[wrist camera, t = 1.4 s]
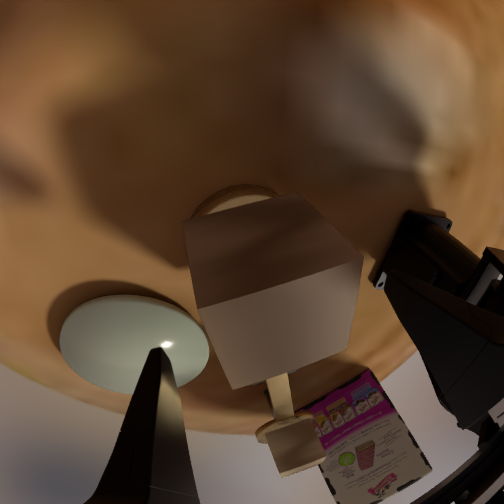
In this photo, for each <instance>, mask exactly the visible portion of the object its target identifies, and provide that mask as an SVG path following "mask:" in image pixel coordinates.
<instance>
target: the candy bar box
mask: <svg viewBox="0 0 504 504" xmlns="http://www.w3.org/2000/svg"><path fill="white" fill-rule="evenodd" d="M299 411H312V412H313V414H314V416H315V418H316V423H315V424H314V425H313V427H314V429H315V432H316V434H317V436H318V438H319V440H320V442H321V445H322V447H323V449H324V451H325V453H326V455H327V457H326V458H325V460H324V461H323V463H321V464H319V465H318V466H319V468H320V470H321V473H322V475H323V477H324V479H325V481H326V483H327V485H328V488H329V490H330V492H331V494H332V495H333V497H334V499H335V501H336V503H337V504H378V503H379V502H382V501H383V500H385V499H387V498H389V497H391V496H393V495H394V494H396V493H398V492H400V491H401V490H403V489H405V488H407V487H408V486H410V485H412V484H413V483H415V482H417V481H418V480H420V479H421V478H423V477H424V476H426V475H427V474H429V473H430V472H431V471H432V467H431V466H430V464H429V462H428V460H427V459H426V457H425V455H424V454H423V452H422V451H421V449H420V447H419V446H418V444H417V442H416V441H415V439H414V437H413V436H412V434H411V432H410V431H409V429H408V428H407V426H406V425H405V423H404V421H403V419H402V418H401V416H400V415H399V413H398V412H397V410H396V409H395V407H394V405H393V404H392V402H391V400H390V399H389V397H388V396H387V394H386V393H385V391H384V390H383V388H382V386H381V385H380V383H379V381H378V380H377V378H376V377H375V375H374V374H373V372H372V371H371V370H370V369H368V370H366V371H365V372H363V373H362V374H360V375H359V376H357V377H355V378H354V379H352V380H351V381H349V382H348V383H346V384H344V385H343V386H341V387H339V388H338V389H336V390H334V391H333V392H331V393H329V394H328V395H326V396H324V397H323V398H321V399H319V400H317V401H316V402H314V403H312V404H310V405H308V406H307V407H305V408H303V409H301V410H299ZM297 412H298V411H297Z"/></svg>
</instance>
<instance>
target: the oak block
mask: <svg viewBox="0 0 504 504" xmlns="http://www.w3.org/2000/svg"><path fill="white" fill-rule="evenodd" d="M265 437H266V439H267V442H268V445H269V447H270V450H271V453H272V455H273V458H274V461H275V463H276V466H277V468H278V471H279V474H280V476H281V478H283V477H286V476H289V475H292V474H295V473H298V472H300V471H303V470H306V469H308V468H311V467H314V466H316V465H319V464H321V463H323V461H324V460H325V458H326V457H327V455H326V453H325V451H324V449H323V447H322V445H321V442H320V440H319V438H318V436H317V434H316V432H315V429H314V427H313V425H312V423H311V421H310V419H309V418H308V419H305V420H303V421H300V422H297V423H295V424H292V425H289V426H286V427H283V428H280V429H277V430H274V431H271V432H268V433H265Z"/></svg>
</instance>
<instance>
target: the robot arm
mask: <svg viewBox="0 0 504 504" xmlns="http://www.w3.org/2000/svg"><path fill="white" fill-rule="evenodd" d="M451 226H452V221H451V220H449V219H448V218H445V217H440V216H436V215H431V214H427V213H422V212H417V211H412V210H409V211H407V212H406V213H405V215H404V217H403V219H402V221H401V224H400V226H399V228H398V231H397V233H396V235H395V238H394V240H393V242H392V244H391V246H390V249H389V251H388V253H387V255H386V257H385V259H384V261H383V263H382V266H381V268H380V270H379V272H378V274H377V276H376V278H375V280H374V282H373V286H374V287H375V288H376V289H377V290H380V289H384V291H385V294H386V296H387V297H388V299H389V301H390V303H391V305H392V307H393V309H394V311H395V313H396V315H397V316H398V318H399V320H400V322H401V323H402V325H403V327H404V328H405V330H406V331H407V333H408V334H409V336H410V338H411V339H412V341H413V342H414V344H415V346H416V347H417V349H418V351H419V352H420V355H421V357H422V360H423V362H424V364H425V367H426V369H427V372H428V374H429V377H430V379H431V382H432V385H433V387H434V390H435V393H436V395H437V397H438V400H439V402H440V404H441V405H442V406H443V407H444V408H445V409H446V410H447V411H449V412H450V413H451V414H452V415H454V416H455V417H456V418H457V421H458V423H457V426H458V427H459V428H462V430H464V429H468V430H470V431H472V432H474V433H476V434H477V435H479V441H478V447H479V450H478V451H477V452H476V453H475V454H474V455H473V456H472V457H471V458H470V459H468V460H467V461H466V462H465V463H464V464H463V465H461V466H460V467H459V468H458V469H457V470H456V471H454V472H453V473H452V474H451V475H449V476H448V477H447V478H446V479H444V480H443V481H442V482H440V483H439V484H438V485H436V486H435V487H434V488H432V489H431V490H430V491H428V492H427V493H425V494H424V495H422V496H421V497H419V498H418V499H416V500H415V501H414V502H412V503H410V504H451V503H452V502H453V501H454V502H455V504H504V491H503V490H504V250H500V249H496V248H491V247H487V246H486V248H485V250H484V252H483V256H482V258H481V259H480V258H479V257H478V256H477V255H475V254H474V253H473V252H472V251H471V250H470V249H468V248H467V247H466V246H465V245H463V244H462V243H461V242H460V241H459V240H457V239H456V238H455V237H454V236H452V235H451V234H450V233H449V230H450V228H451ZM500 273H501V274H502V275H503V278H502V279H501V280H498V279H497V278H498V276H499V275H500ZM120 431H121V432H119V435H118V438H117V441H116V444H115V447H114V449H113V452H112V455H111V457H110V459H109V461H108V464H107V466H106V468H105V470H104V473H103V475H102V477H101V480H100V482H99V484H98V486H97V488H96V490H95V492H94V493H93V495H92V496H91V497H90V498H89V499H88V500H87V501H86V502H85V503H84V504H200V501H199V498H198V493H197V489H196V484H195V480H194V475H193V470H192V466H191V461H190V455H189V450H188V444H187V439H186V433H185V427H184V421H183V414H182V407H181V401H180V397H179V393H178V389H177V385H176V381H175V377H174V373H173V368H172V364H171V361H170V359H169V357H168V356H167V354H166V353H165V351H164V350H163V348H162V347H157V348H152V349H151V350H150V351H149V354H148V356H147V359H146V361H145V364H144V366H143V369H142V372H141V374H140V377H139V379H138V382H137V385H136V387H135V390H134V393H133V395H132V398H131V401H130V404H129V406H128V409H127V412H126V415H125V418H124V421H123V424H122V427H121V429H120Z"/></svg>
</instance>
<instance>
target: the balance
mask: <svg viewBox="0 0 504 504" xmlns="http://www.w3.org/2000/svg"><path fill="white" fill-rule="evenodd" d="M277 196H278V195H277V194H276V193H274V192H273V191H271V190H269V189H267V188H264V187H261V186H256V185H237V186H231V187H228V188H225V189H223V190H220V191H218V192H216V193H215V194H213V195H211V196H210V197H209V198H207V199H206V200H205V201H204V202H203V203H202V204H201V205H200V206H199V207H198V208H197V209H196V211H195V212H194V214H193V215H192V217H191V219H193V218H196V217H200V216H203V215H207V214H211V213H214V212H218V211H222V210H226V209H229V208H233V207H237V206H241V205H245V204H249V203H253V202H257V201H261V200H265V199H269V198H273V197H277ZM296 371H297V369H296V370H293V371H290V372H287V373H285V374H282V375H279V376H276V377H273V378H270V379H267V380H264V381H261V382H257V383H254V384H252V385H253V386H255V385H258V384H261V383H264V382H266V385H267V388H268V389H267V390H265V391H264V394H265V397H266V399H267V402H268V404H269V407H270V410H271V412H272V415H273V417H274V420H271V421H269V422H267V423H265V424H264V425H262V426H261V427H259V428H258V429H257V430H256V432H255V435H256V438H257V440H258V442H259V443H265V444H266V443H268V442H267V439H266V437H265V433H268V432H271V431H274V430H277V429H280V428H283V427H286V426H289V425H292V424H295V423H297V422H300V421H303V420H305V419H308V418H309V419H310V421H311V423H312V425H314V424H315V423H316V418H315V416H314V414H313V412H312V411H298V412H294V410H293V404H292V398H291V392H290V387H289V381H288V374H291V373H293V372H296Z"/></svg>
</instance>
